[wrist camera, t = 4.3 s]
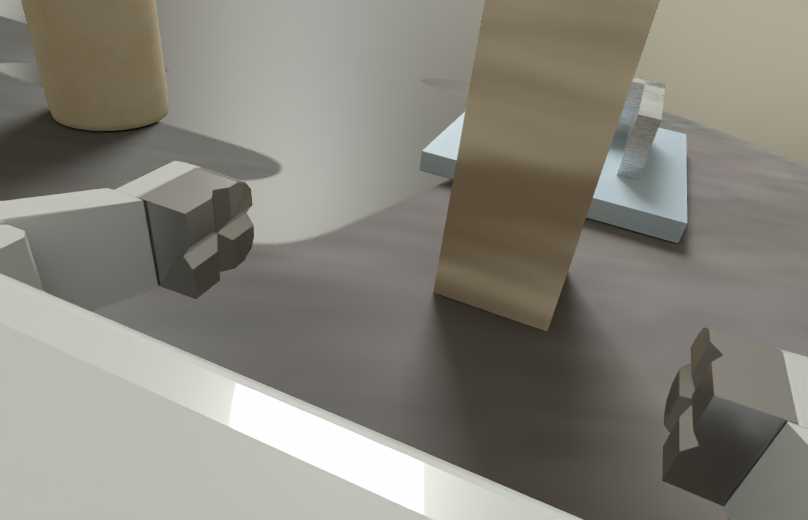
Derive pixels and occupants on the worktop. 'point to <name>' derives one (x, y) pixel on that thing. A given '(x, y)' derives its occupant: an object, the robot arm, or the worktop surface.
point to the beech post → (535, 147)
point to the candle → (99, 61)
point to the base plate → (611, 183)
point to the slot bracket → (639, 125)
